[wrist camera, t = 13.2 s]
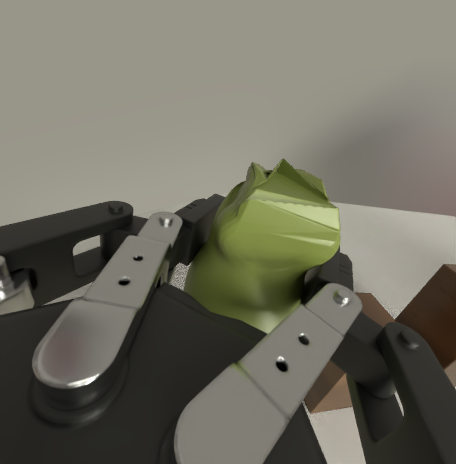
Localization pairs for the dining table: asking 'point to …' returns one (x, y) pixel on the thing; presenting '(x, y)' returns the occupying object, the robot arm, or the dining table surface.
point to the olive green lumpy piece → (264, 246)
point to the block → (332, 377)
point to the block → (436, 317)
